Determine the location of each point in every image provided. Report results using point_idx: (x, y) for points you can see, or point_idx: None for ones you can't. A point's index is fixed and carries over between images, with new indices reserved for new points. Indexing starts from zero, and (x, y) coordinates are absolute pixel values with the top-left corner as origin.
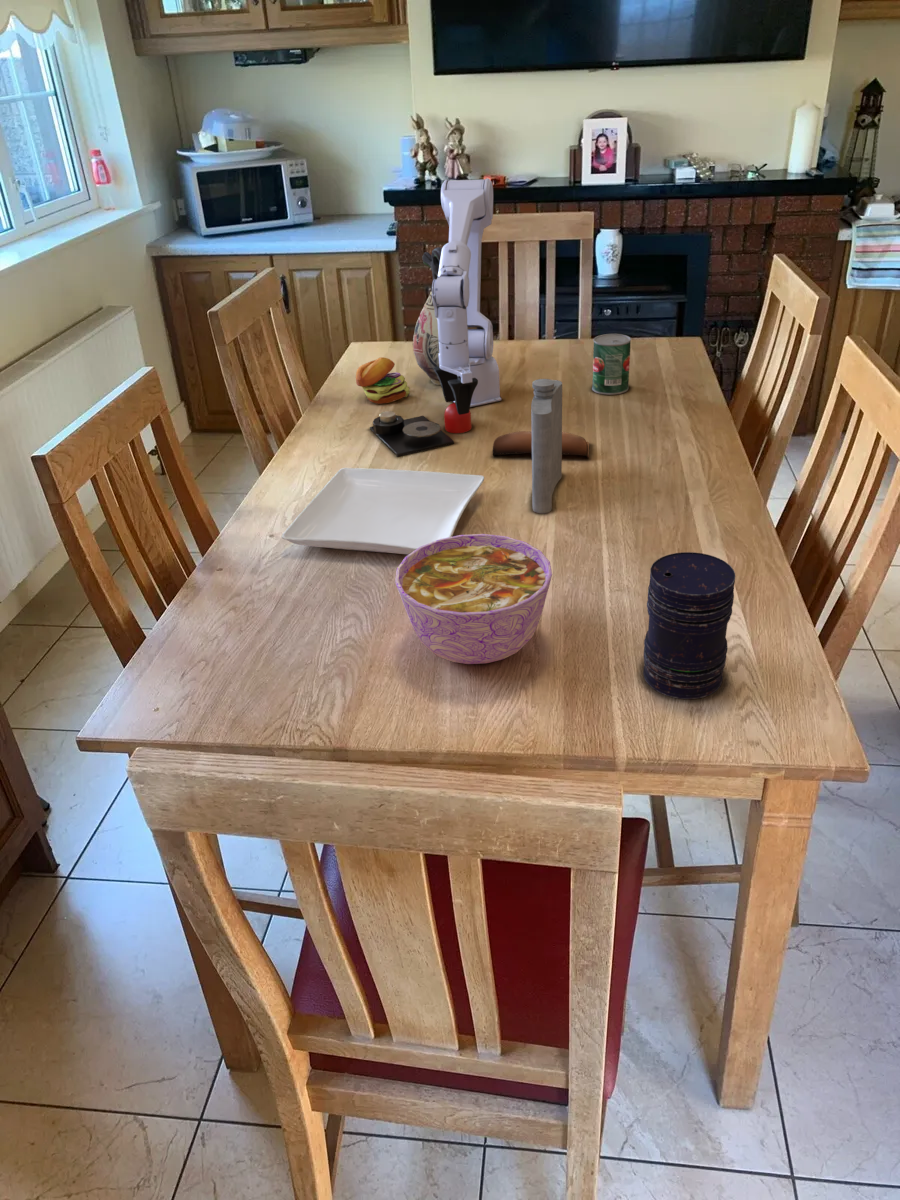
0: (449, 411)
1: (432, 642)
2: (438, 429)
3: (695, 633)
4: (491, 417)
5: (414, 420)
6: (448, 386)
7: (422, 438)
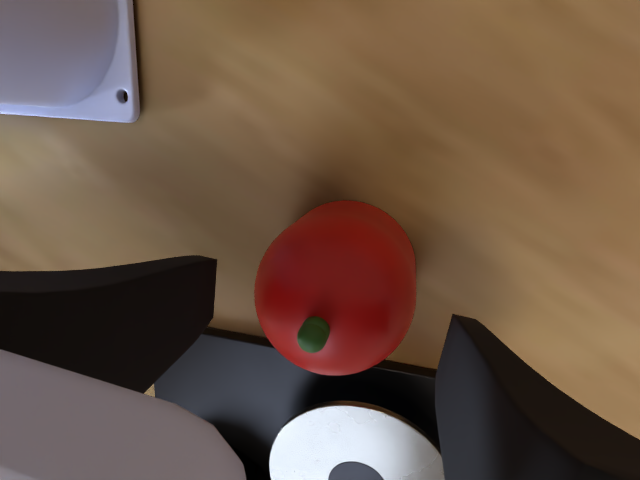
0: (344, 374)
1: None
2: (424, 446)
3: None
4: (317, 36)
5: (183, 378)
6: (140, 352)
7: None
